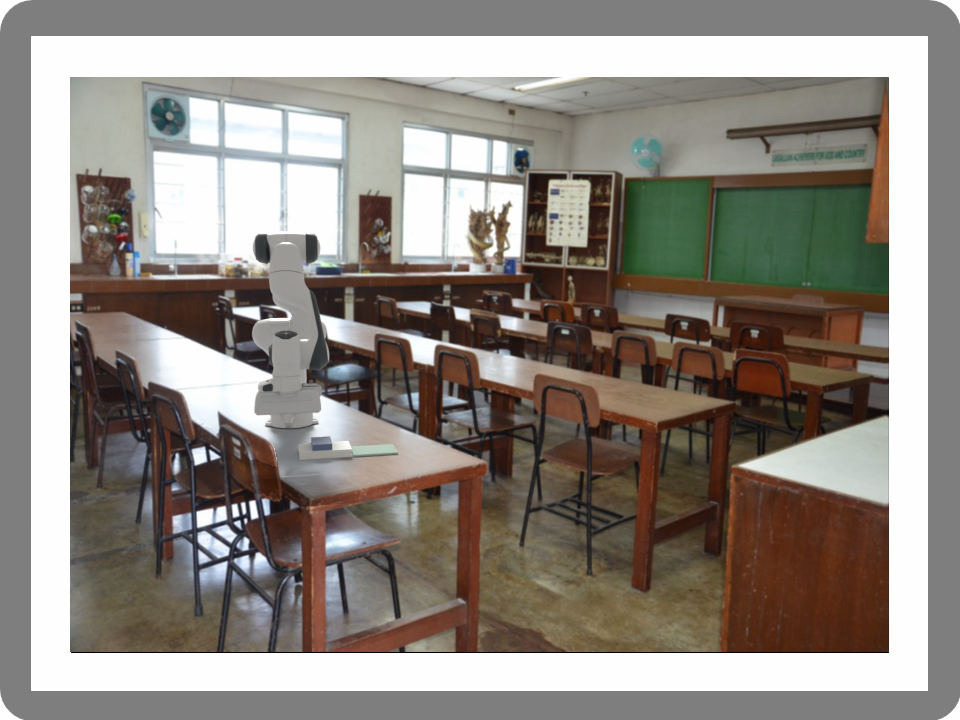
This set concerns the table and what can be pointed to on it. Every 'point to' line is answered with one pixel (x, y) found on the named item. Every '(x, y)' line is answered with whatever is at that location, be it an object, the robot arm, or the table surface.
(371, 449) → the mat
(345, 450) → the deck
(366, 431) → the table surface
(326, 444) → the tile
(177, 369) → the table surface
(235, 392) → the table surface
